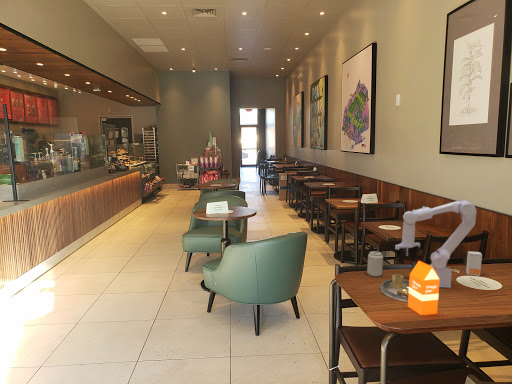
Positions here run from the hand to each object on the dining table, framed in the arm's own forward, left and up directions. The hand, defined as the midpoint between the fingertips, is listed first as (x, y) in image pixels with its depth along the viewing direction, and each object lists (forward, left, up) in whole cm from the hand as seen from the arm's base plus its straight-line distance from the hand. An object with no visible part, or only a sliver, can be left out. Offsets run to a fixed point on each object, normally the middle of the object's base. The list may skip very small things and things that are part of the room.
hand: (406, 261), depth 190 cm
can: (+14, -7, -10) cm, 19 cm away
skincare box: (-39, -16, -10) cm, 43 cm away
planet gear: (+6, +10, -9) cm, 15 cm away
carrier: (+3, +16, -10) cm, 19 cm away
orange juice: (+2, +34, -10) cm, 36 cm away
